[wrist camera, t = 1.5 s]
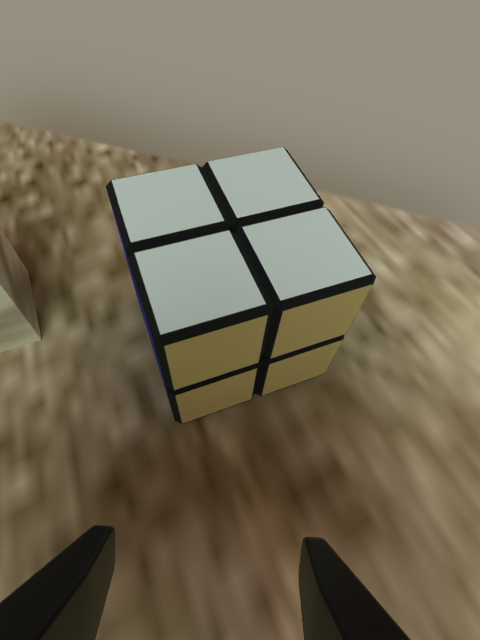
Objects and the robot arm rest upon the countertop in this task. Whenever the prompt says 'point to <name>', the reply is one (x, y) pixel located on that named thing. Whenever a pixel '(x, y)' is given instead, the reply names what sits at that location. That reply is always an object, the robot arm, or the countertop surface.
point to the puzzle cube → (237, 276)
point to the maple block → (15, 301)
